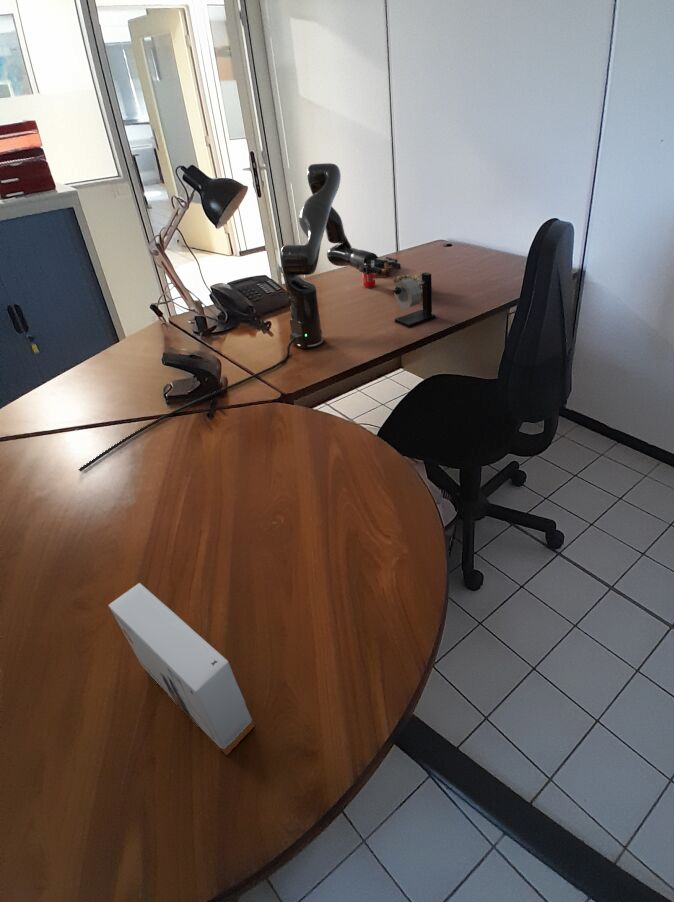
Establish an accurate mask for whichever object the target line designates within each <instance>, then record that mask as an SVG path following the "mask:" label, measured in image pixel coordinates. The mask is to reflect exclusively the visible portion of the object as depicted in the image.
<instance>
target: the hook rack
mask: <svg viewBox="0 0 674 902" xmlns="http://www.w3.org/2000/svg"><path fill="white" fill-rule="evenodd" d="M421 275H422V281H419V282H417V283H418V285H419V286H422V294H421V300H422V309H419V310H417V311H414V312H411V313H408V314H405V315H402V316H399V317H397V318H394V323H397V324H399V325H402V326H404V327H406V328H409V329H410V328H412V327H415V326H417V325H420V324H423V323H425V322H428V321H431V320H434V319H436V318H437V317H436V314H434V313H433V292H432V291H433V290H432V288H433V287H432V284H433V283H432V273H429V272H422V273H421ZM403 291H406V289H405V288H404V287H396V288H395V289H394V288H393V292H394V293H395V294H400V293H401V292H403ZM394 293H393V294H394Z"/></svg>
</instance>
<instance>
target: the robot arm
mask: <svg viewBox="0 0 674 902" xmlns="http://www.w3.org/2000/svg"><path fill="white" fill-rule="evenodd" d="M306 173H307V174H306V177H307V183H308V186H309V188H310V192H311V194H312V195H311V196H309V197H308V198H307V199H306V200H305V201H304V203H303V205H302V207H301V209H300V213H299V216H298V223H299V227H300V229H301V231H302V232H303V234H304V235H305V237H306V239H307V243H305V244H285V245H283V246H282V247H281V250H280V258H279V259H280V265H281V271H282V275H283V279H284V285H285V289H286V292H287V297H288V302H289V310H290V316H291V318H289V325H290V326H289V327H290V332H291V333H289V339H290V342H289V343H288V344H287V347H286V355H285V357H284V358H283V359H281V360H280V361H278V362H277V363H275V364H273V365H272V366H270V367H267V368H264V369H263V370H261V371H259V372H256V373H255V374H252V375H250V376H248V377H245V378H243V379H241V380H239V381H237V382H234V383H232V384H230V385H227V386H225V387H226V388H225V387H223V388H221V390H220V389H218V390H219V391H218V390H216V391H217V392H216V391H214V392H212V394H211V393H209V394H210V395H209V394H206V395H204V396H202V397H199V398H198V399H196V400H193V401H191V402H189V403H186V404H184V405H182V406H181V407H179V408H176V409H174V410H173V411H171V413H170V412H168V413H166V414H167V415H166V414H164V415H165V416H164V415H162V416H160V417H159V418H157V419H155V420H156V421H155V420H153V421H154V422H153V421H151V422H152V423H151V422H149V423H147V424H146V425H147V426H146V425H144V426H145V427H144V426H143V428H142V427H141V428H139V429H140V430H139V429H137V430H138V431H137V430H135V431H134V432H135V433H134V432H132V433H133V434H132V433H131V434H129V435H130V436H129V435H127V436H128V437H127V436H126V437H124V438H125V439H124V438H122V439H121V440H122V441H121V440H119V441H120V442H119V441H118V442H119V443H118V442H116V443H117V444H116V443H115V444H113V445H114V446H113V445H112V446H110V447H111V448H110V447H109V448H107V449H108V450H107V449H106V450H104V451H105V452H104V451H102V452H101V453H102V454H101V453H100V454H98V455H99V456H98V455H96V456H95V457H96V458H95V457H94V458H95V459H94V458H92V459H93V460H92V459H91V460H92V461H91V460H89V461H88V462H89V463H88V462H86V463H85V464H86V465H85V464H83V465H82V466H83V467H82V466H81V467H79V468H80V469H79V468H78V471H79V472H83V471H84V470H85V469H87V468H88V467H90V466H91V465H93V464H94V463H96V462H97V461H98V460H100V459H101V458H103V457H104V456H106V455H107V454H109V453H110V452H112V451H113V450H115V449H116V448H118V447H120V446H121V445H122V444H124V443H125V442H127V441H128V440H130V439H132V438H133V437H135V436H136V435H139V434H140V433H142V432H144V431H145V430H147V429H148V428H150V427H152V426H154V425H156V424H157V423H159V422H161V421H163V420H165V419H168V418H169V417H171V416H173V415H175V414H177V413H179V412H181V411H183V410H185V409H187V408H190V407H192V406H194V405H195V404H198V403H201V402H202V401H206V400H207V399H209V398H211V397H213V396H216V395H218V394H220V393H223V392H225V391H228V390H230V389H232V388H234V387H237V386H239V385H242V384H243V383H245V382H247V381H250V380H253V379H254V378H256V377H258V376H260V375H263V374H265V373H268V372H270V371H272V370H274V369H276V368H277V367H279V366H280V365H282V364H283V363H285V362H286V361H287V360H288V358H289V356H290V352H291V350H290V349H291V346H292V345H293V346H294V347H297V348H300V349H303V350H307V349H312V348H317V347H319V346H321V345H322V344H324V339H323V332H322V324H321V318H320V310H319V309H320V308H319V302H318V301H319V300H318V294H317V287H316V285H315V284H314V283H312V282H310V281H308V280H305V279H304V278H302V277H301V276H310V275H313V274H314V273H315V271H316V270H317V267H318V262H319V257H320V251H321V246H322V245H321V244H322V241H323V238H324V233H325V234H326V238H327V240H328V242H329V243H331V244H334V246H332V247H330V248H329V249H328V250H327V252H326V257H327V260H328V262H329V263H330V264H332V265H333V266H337V267H352V268H355V269H356V270H357V271H359V273H365V274H368V275H369V274H370V273H372V274H374V273H375V274H378V275H382V269H388V268H390V269H394V270H397V271H400V270H401V269H402V268H401V263H399V262H398V259H397V258H393V257H390V256H386V257H385V258H381V257H379V256H378V255H377V253H374V252H371V251H368V250H365V249H358V248H355V247H352V245H351V243H350V241H349V239H348V238H347V235H346V233H345V228H344V224H343V223H344V222H343V220H342V218H341V215H340V214H339V212H338V211H337V210H336V209H335V208H334V207H333V206H332V205H333V203H334V200H335V197H336V195H337V194H338V191H339V189H340V184H341V177H342V176H341V169H340V168H339V166H338V165H337V164H336V163H331V162H327V163H313V164H309V166H308V168H307V171H306ZM385 263H386V267H385ZM389 265H391V266H389Z"/></svg>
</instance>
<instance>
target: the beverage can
mask: <svg viewBox="0 0 674 902" xmlns="http://www.w3.org/2000/svg"><path fill="white" fill-rule="evenodd" d="M361 273H362V272H361ZM362 284H363V287H364V288H365V289H372V288H375V286H376V277H375V273H374V274H372V273H370V274H369V275H368V274H365V273H362Z"/></svg>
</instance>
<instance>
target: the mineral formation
mask: <svg viewBox="0 0 674 902" xmlns="http://www.w3.org/2000/svg"><path fill="white" fill-rule="evenodd" d="M409 278H411V279H414V280H415V281H416V282H419V281H422V273H416V274H415V275H414V276H413V275H412V276H411V275H410V274H402V275H398V276H397V277H396V278H393V282H394V284H393V286H394V287H395V285H396V283H397V282H399V281H402V280H405V279H409ZM394 287H393V288H394ZM420 289H421V295H422V286H420Z"/></svg>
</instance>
